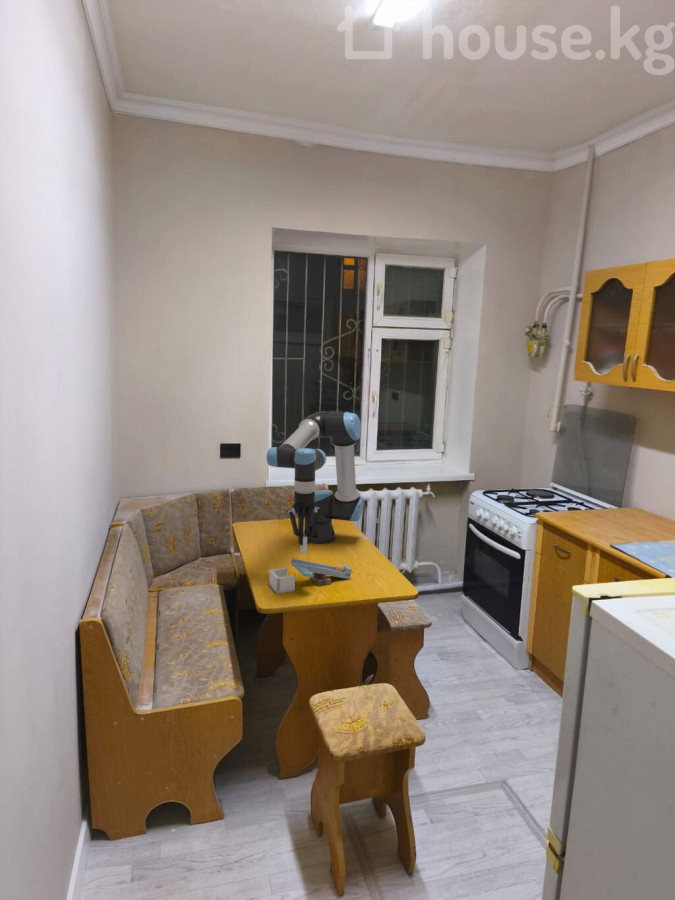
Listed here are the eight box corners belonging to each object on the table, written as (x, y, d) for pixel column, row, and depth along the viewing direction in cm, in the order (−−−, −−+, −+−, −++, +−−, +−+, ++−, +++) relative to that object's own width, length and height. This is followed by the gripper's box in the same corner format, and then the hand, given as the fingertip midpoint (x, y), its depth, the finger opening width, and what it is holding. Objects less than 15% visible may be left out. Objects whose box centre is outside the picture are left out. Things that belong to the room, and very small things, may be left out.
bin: (286, 581, 228) (286, 567, 227) (294, 590, 220) (294, 575, 219) (269, 584, 225) (269, 570, 224) (277, 593, 217) (277, 578, 216)
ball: (339, 572, 235) (343, 564, 235) (343, 575, 232) (347, 567, 232) (332, 569, 233) (336, 561, 233) (336, 572, 230) (340, 564, 230)
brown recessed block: (321, 575, 234) (321, 567, 234) (330, 584, 227) (331, 575, 226) (309, 577, 232) (310, 569, 232) (319, 586, 224) (319, 577, 224)
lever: (342, 573, 237) (345, 564, 237) (357, 585, 225) (360, 576, 225) (290, 563, 226) (293, 553, 225) (303, 575, 214) (306, 565, 214)
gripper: (316, 487, 218) (315, 547, 222) (284, 490, 213) (283, 551, 217) (325, 492, 212) (323, 553, 216) (291, 495, 206) (291, 558, 210)
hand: (303, 552), depth 216 cm, fingers closed
